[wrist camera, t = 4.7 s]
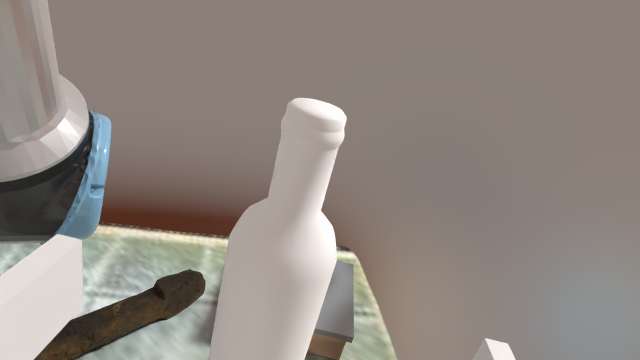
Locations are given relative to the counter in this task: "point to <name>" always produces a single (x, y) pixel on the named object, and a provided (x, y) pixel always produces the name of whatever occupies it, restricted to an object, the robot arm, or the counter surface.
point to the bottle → (282, 246)
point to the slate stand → (335, 315)
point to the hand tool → (125, 316)
